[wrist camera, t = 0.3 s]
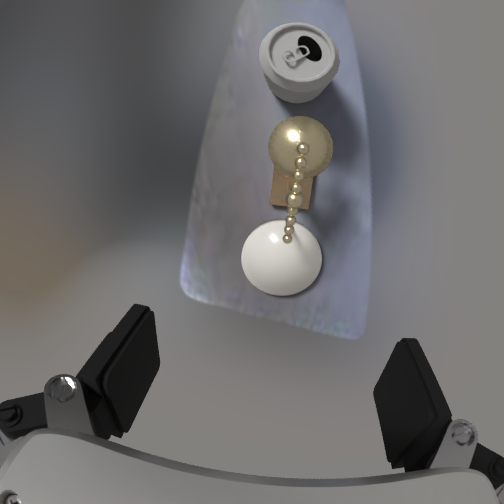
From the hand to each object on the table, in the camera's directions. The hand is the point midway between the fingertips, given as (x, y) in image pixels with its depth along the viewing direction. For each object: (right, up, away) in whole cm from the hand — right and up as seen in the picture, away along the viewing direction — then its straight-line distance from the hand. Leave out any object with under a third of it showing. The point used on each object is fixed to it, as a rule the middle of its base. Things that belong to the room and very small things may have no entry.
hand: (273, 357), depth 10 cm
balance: (+4, +14, +26) cm, 30 cm away
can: (+5, +26, +21) cm, 34 cm away
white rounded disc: (+3, +3, +31) cm, 31 cm away
